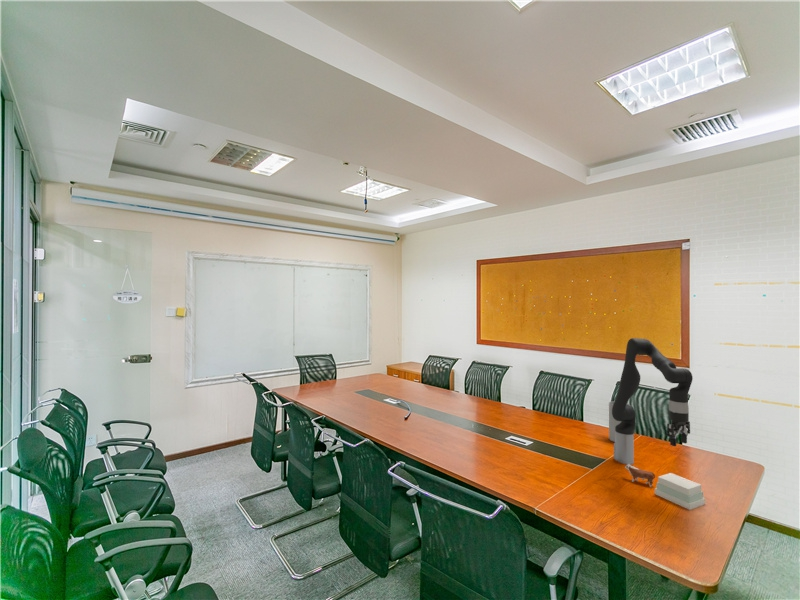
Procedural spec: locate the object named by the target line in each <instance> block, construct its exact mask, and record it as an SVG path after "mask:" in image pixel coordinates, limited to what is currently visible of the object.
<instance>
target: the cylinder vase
mask: <svg viewBox="0 0 800 600" xmlns="http://www.w3.org/2000/svg"><path fill="white" fill-rule="evenodd" d="M614 402H615V400H614V401H613V400H612V401H609V402H608V439H609V441H610V442H613V443H615V427H616V425H618V424H620V423H621V421H616V420H615V419H614V418H613V416H612V407H613V404H614ZM627 405H631V404H630V403H627Z"/></svg>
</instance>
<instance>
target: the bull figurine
mask: <svg viewBox="0 0 800 600" xmlns="http://www.w3.org/2000/svg"><path fill="white" fill-rule="evenodd" d="M624 468H625V469H626V470H627V471H628V473H629V474H630V476H632V480H631V482H633V483H634V482H635V481H636V482H639V480H638V479H641V480H642V481H645V480H647V481H646V482H645V484H646V485H648V484H649V487H650V488H651V487H653V484H654V482H653V481H654V479H655V478H656V475H655V474H654V472H652V471H649V470H643V469H640V468H638V467H635V466H634V465H633V464H625V466H624Z"/></svg>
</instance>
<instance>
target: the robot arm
mask: <svg viewBox="0 0 800 600" xmlns="http://www.w3.org/2000/svg"><path fill="white" fill-rule="evenodd" d="M637 356H647V357H649V358H651V364H652V365H653V366H654V368H656V370H658V371H660V372H661V374H662V376H663V378H664V379H665V380H666V382H668V383H671V384H677V385H676V386H675V387H671V388H669V392H668V394H669V395H668V396H669V399H668V400H669V401H668V419H669V420H670V421H671V423H667V424H666V437H669V438H670V439H669V444H670V446H672V447H677V437H678V435H680V442H681V443H682V444H687V443H688V435H689V434H691V423H690V421H689V419H690V418H689V417H690V416H689V413H690V412H689V411H690V410H689V409H690V408H689V391H690V389H691V386H692V383H693V374H692V372H691V371H690V369H688V368H681V367H680V368H679V367H678V368H677V365H676V364H675V363H674V362H673V361H672V360H670V359H669V358H668V357H666V356H665V355H663V353H662V352H661V351H659V349H658V348H657V347H656V346H655V345H654V343H652V341H650V340H649V339H647V338H636V337H635V338H634V337H633V338H629V340H628V341H627V344H626V350H625V357H624V364H623V368H622V369H623V370H622V372H621V377H620V381H619V386H618V389H617V394H616V396H615V399H614V401H615V402H614V404H613V407H612V416H613V418H614V419H615V420H616V421H621V423H620V424H618V425H616V427H615V442H613V459H614V460H615V462H617V461H618V463H620V464H623V465H628V464H630V465H633V464H634V463H635V461H634V459H635V453H634V452H635V451H634V449H635V448H634V447H635V446H634V445H635V444H634V437H635V435H634V432H635V429H636V415H637V414H636V411H635V408H634V407H633V406H632V405H631V404H630V405H627V404H628V402H629V400H630V399H631V398H632V397H633V396H634V394H635V393H636V392H637V391H638V390H639V387H640V381H641V374H640V372H639V370H638V368H637V365H636V358H637Z"/></svg>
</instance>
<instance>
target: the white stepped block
mask: <svg viewBox="0 0 800 600" xmlns="http://www.w3.org/2000/svg"><path fill="white" fill-rule="evenodd" d="M654 495H656V496H658V497H661V498H663V499H665V500H667V501H670V502H671V503H673V504H676V505H679V506H680V507H682V508H685V509H686V510H688V511H691V510H694V509H696V508H700V507H702V506H704V505H706V497H704V491H703V490H702V484H701V483H699V482H695V481H693V480H690V479H688V478H684V477H682V476H680V475H678V474H675V473H673V472H669V473H665V474H663V475H659V476H657V482H656V487H655V488H654Z"/></svg>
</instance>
